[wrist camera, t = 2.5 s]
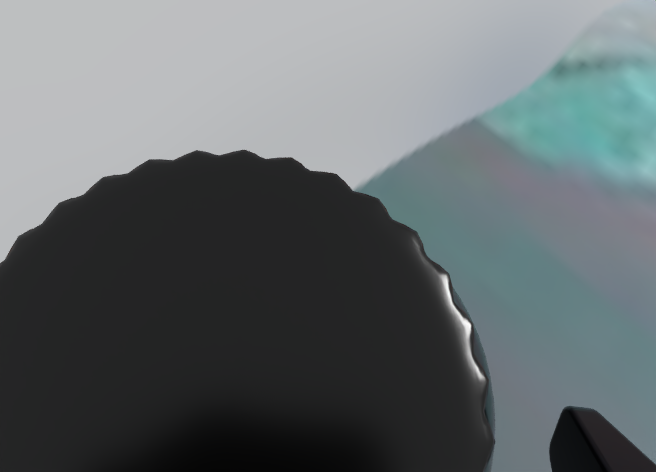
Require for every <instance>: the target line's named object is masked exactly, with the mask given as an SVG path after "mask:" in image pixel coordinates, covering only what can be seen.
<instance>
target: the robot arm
mask: <svg viewBox="0 0 656 472" xmlns="http://www.w3.org/2000/svg"><path fill="white" fill-rule="evenodd" d="M549 454H550V462H551V468H552V472H656V464H654V463H653V462H652V461H651V460H650V459H649V458H648V457H647V456H646V455H645V454H644V453H642V452H641V451H640V450H639V449H638V448H637V447H636V446H635V445H634V444H633V443H631V442H630V441H629V440H628V439H627V438H626V437H625V436H624V435H623V434H622V433H621V432H619V431H618V430H617V429H616V428H615V427H614V426H613V425H612V424H611V423H610V422H608V421H607V420H606V419H605V418H604V417H603V416H602V415H601V414H600V413H598V412H597V411H596V410H594V409H590V408H583V407H575V406H567V407H565V408H564V409H563V411H562V413H561V415H560V418H559V420H558V423H557V426H556V428H555V431H554V434H553V436H552V439H551V442H550V449H549Z"/></svg>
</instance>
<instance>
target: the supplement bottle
mask: <svg viewBox="0 0 656 472" xmlns="http://www.w3.org/2000/svg"><path fill="white" fill-rule="evenodd" d="M494 437H495V414H494V398H493V391H492V384H491V378H490V373H489V369H488V365H487V361H486V357H485V353H484V351H483V348H482V345H481V342H480V339H479V336H478V333H477V331H476V329H475V327H474V324H473V322H472V320H471V318H470V315H469V313H468V312H467V310H466V308H465V306H464V305H463V303H462V301H461V299H460V297H459V296H458V294H457V293H456V291H455V290H454V288H453V287H452V283H451V279H450V275H449V273H448V272H446V271H445V270H444V269H443V268H442V267H441V266H440V265H438V264H437V263H435V262H433V261H432V260H431V259H429V258H428V257H427V255H426V253H425V251H424V248H423V243H422V241H421V239H420V237H419V235H418V233H417V232H416V231H414V230H413V229H411V228H409V227H407V226H406V225H404V224H401V223H399V222H397V221H395V220H392V218H391V217H390V216H389V214H388V212H387V210H386V208H385V207H384V205H383V204H382V203H381V201H380V200H379V199H378V198H375V197H372V196H369V195H367V194H363V193H358V192H354V191H352V189H351V188H350V187H349V186H348V185H347V184H346V182H345V181H344V180H342V179H341V178H340V177H339V176H338V175H337V174H334V173H327V172H318V171H310V170H308V169H306V168H305V167H304V166H303V165H302V164H301V163H299V162H298V161H296V160H294V159H293V158H271V159H264V158H261V157H259V156H258V155H256V154H255V153H252V152H249V151H247V150H240V151H236V152H231V153H227V154H223V155H220V156H219V155H214V154H211V153H208V152H203V151H198V150H196V151H194V152H191V153H189V154H186V155H184V156H182V157H179V158H177V159H175V160H160V159H159V160H148V161H146V162H144V163H143V164H141V165H139V166H138V167H136V168H135V169H133V170H132V171H131V172H129V173H128V174H122V175H113V176H107V177H103V178H102V179H100V180H99V181H98V182H97V183H96V184H94V185H93V186H92V187H91V188H90V189H89V190H88V191H87V192H86V193H85V194H84V195H82V196H79V197H76V198H71V199H69V200H65V201H63V202H60V203H59V204H58V205H57V206H56V207H55V208H54V209H53V211H52V212H51V213H50V214H49V216H48V217H47V218H46V220H45V221H44V222H43V223H42V224H41V225H39V226H37V227H36V228H34V229H31V230H29V231H27V232H25V233H24V234H22V235H20V236H19V237H18V238H17V240H16V241H15V243H14V244H13V246H12V248H11V250H10V251H9V253H8V255H7V257H6V259H5V260H4V261H3V262H1V263H0V472H491V466H492V459H493V452H494V444H495V439H494Z"/></svg>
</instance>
